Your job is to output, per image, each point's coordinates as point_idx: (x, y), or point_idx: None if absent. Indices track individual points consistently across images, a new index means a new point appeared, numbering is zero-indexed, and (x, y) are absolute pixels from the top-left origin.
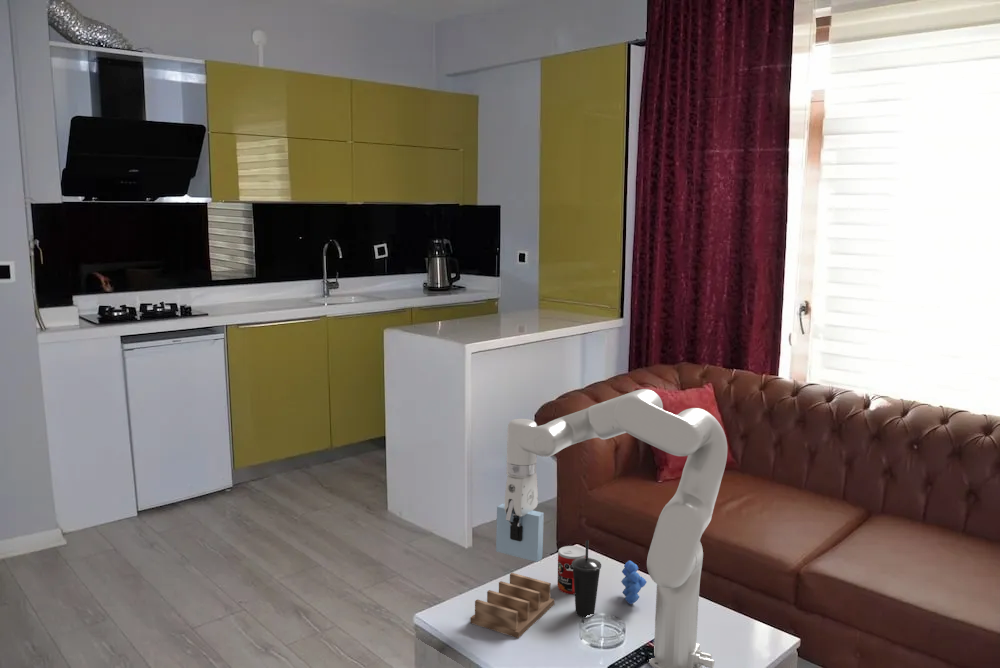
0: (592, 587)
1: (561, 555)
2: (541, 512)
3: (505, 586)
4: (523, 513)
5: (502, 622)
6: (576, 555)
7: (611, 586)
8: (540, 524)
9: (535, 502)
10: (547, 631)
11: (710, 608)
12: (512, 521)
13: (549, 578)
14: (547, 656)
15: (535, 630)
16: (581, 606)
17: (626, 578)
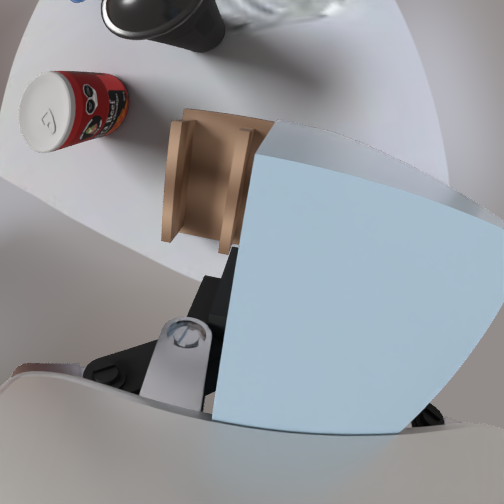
0: None
1: (69, 130)
2: (257, 239)
3: (232, 233)
4: (491, 450)
5: None
6: (54, 92)
7: (72, 40)
8: (376, 158)
9: (56, 472)
10: (322, 89)
11: None
12: (454, 423)
13: (86, 166)
14: (417, 78)
15: (327, 116)
16: (221, 26)
17: None
